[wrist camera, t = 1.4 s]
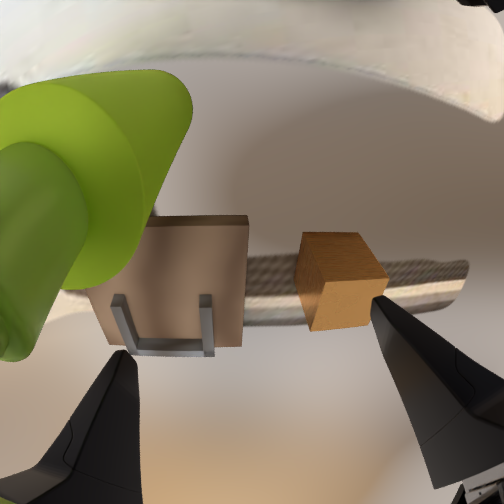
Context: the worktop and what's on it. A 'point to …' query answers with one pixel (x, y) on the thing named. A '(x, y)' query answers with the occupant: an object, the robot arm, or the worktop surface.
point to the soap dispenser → (78, 186)
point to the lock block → (337, 280)
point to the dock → (178, 288)
